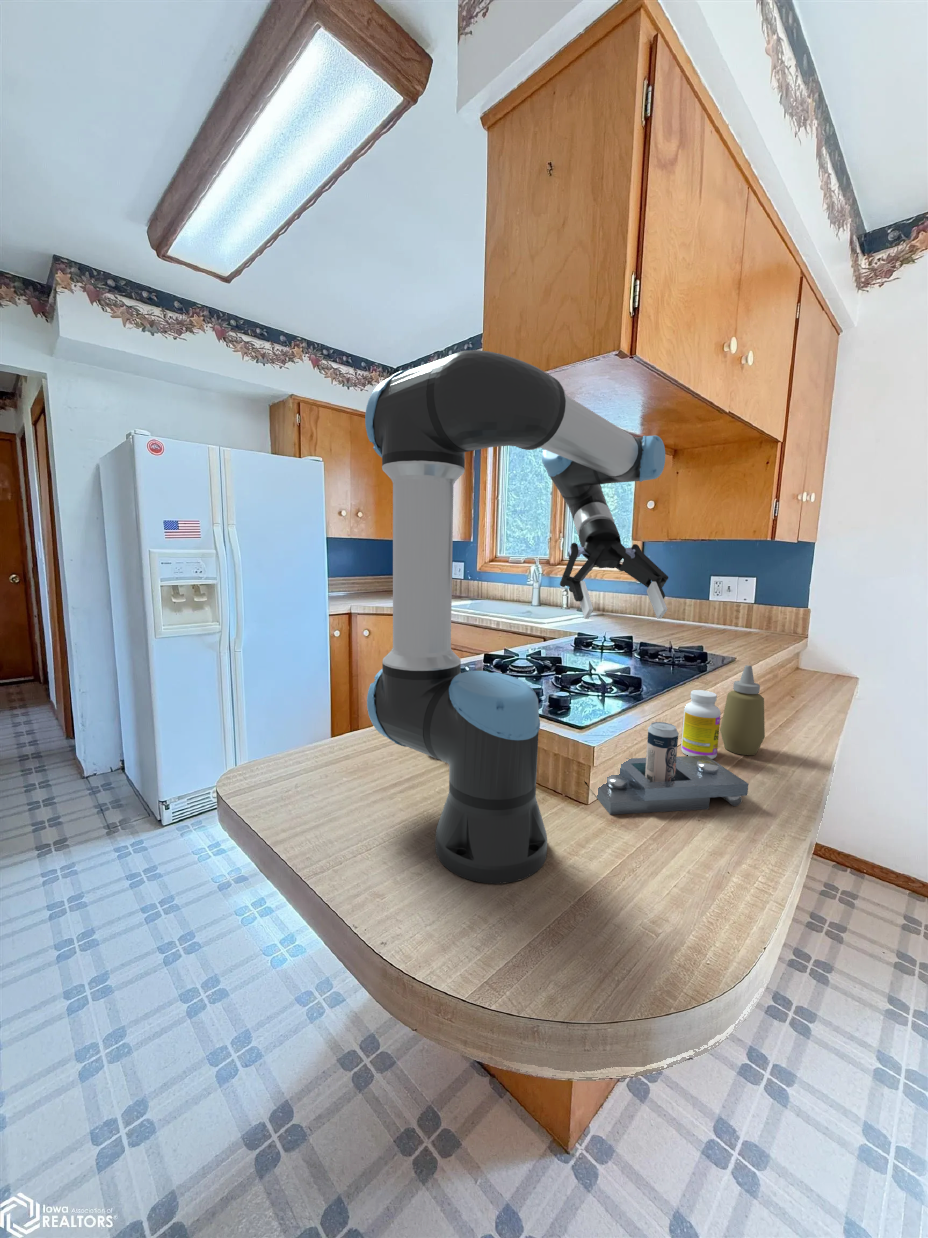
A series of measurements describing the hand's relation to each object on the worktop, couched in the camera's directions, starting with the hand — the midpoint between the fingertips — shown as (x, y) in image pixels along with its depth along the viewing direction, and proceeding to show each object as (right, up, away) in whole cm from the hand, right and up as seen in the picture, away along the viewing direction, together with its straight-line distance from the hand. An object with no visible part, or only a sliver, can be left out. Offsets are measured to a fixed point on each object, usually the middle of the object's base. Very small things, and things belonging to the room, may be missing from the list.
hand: (626, 614), depth 85 cm
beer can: (+4, -31, -3) cm, 31 cm away
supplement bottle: (+19, -29, +14) cm, 37 cm away
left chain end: (+2, -30, -3) cm, 31 cm away
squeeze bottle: (+29, -28, +16) cm, 44 cm away
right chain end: (+8, -30, -3) cm, 32 cm away
